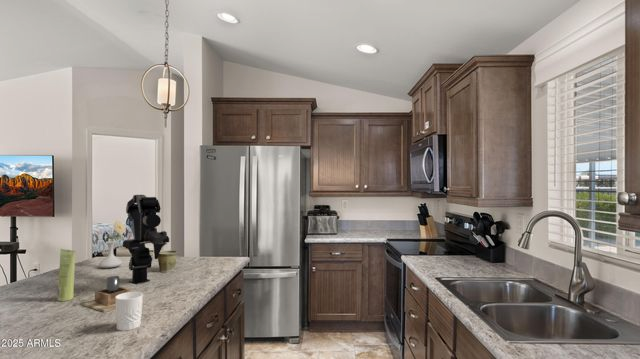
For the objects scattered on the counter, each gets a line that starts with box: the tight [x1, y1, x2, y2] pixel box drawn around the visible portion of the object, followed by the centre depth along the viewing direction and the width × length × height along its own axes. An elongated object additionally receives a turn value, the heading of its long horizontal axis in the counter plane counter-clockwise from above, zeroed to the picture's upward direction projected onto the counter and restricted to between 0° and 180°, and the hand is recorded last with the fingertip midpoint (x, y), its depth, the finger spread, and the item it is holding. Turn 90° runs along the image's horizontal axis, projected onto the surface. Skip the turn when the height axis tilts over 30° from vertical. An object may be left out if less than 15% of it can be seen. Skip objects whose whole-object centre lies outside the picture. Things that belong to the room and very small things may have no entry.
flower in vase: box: [98, 220, 127, 269], centre depth 187 cm, size 13×11×25 cm
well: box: [82, 285, 131, 313], centre depth 131 cm, size 14×14×5 cm
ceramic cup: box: [157, 249, 179, 274], centre depth 181 cm, size 13×10×10 cm
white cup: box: [115, 291, 144, 332], centre depth 110 cm, size 8×8×10 cm
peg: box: [106, 275, 120, 294], centre depth 131 cm, size 4×4×9 cm
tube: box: [57, 248, 76, 302], centre depth 134 cm, size 6×5×20 cm
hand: (146, 261), depth 149 cm, fingers open, 9 cm apart
